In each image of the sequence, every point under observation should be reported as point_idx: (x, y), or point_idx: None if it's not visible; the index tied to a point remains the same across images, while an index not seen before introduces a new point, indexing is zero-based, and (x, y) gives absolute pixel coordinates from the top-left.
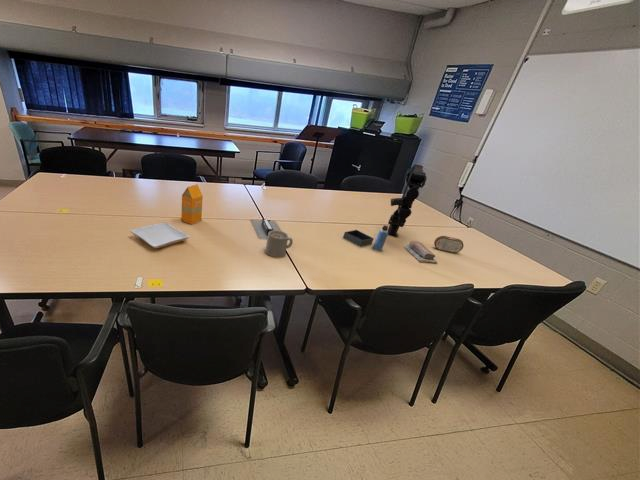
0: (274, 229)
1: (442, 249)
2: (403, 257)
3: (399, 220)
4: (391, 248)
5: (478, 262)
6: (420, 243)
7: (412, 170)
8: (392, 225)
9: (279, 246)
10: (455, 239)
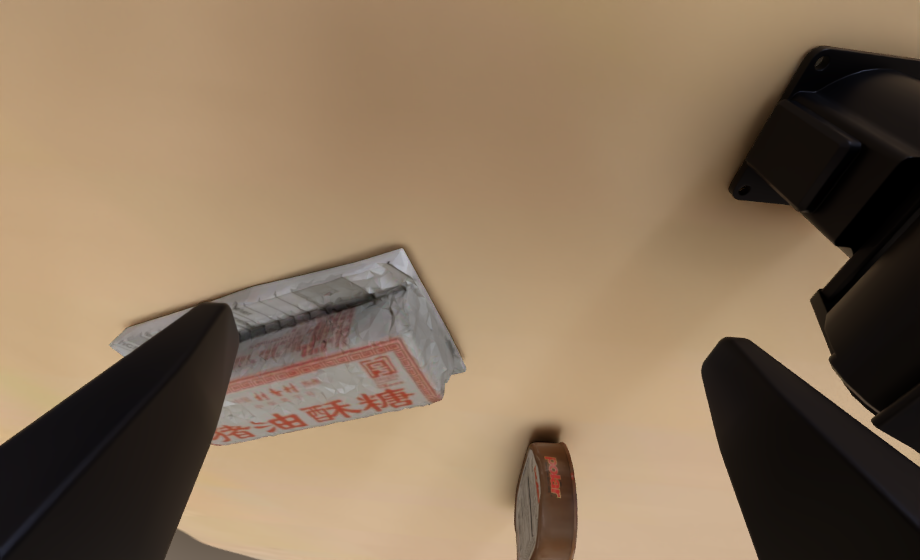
0: None
1: (525, 463)
2: (71, 204)
3: (49, 431)
4: (233, 81)
5: (452, 536)
6: (397, 398)
7: None
8: (904, 162)
9: None
10: None
